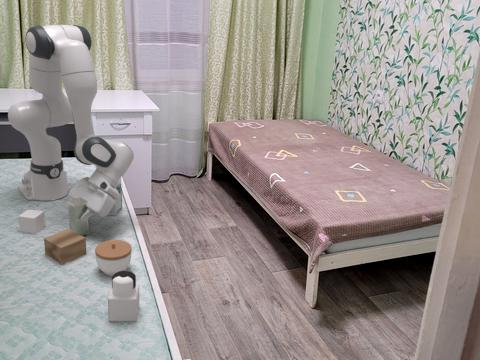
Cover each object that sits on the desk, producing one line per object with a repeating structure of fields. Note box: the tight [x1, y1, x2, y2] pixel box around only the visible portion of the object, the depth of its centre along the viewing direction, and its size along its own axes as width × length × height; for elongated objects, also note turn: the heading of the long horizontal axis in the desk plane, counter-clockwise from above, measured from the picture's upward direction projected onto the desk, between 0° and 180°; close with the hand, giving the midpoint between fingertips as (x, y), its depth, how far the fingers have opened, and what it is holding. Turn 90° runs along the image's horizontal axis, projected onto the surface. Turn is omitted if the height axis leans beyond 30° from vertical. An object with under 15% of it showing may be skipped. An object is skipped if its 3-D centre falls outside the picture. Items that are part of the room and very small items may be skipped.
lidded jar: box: [94, 239, 133, 277], centre depth 149 cm, size 11×11×9 cm
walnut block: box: [43, 228, 87, 265], centre depth 156 cm, size 9×9×6 cm
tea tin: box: [67, 197, 89, 237], centre depth 168 cm, size 5×5×12 cm
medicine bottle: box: [107, 270, 140, 322], centre depth 129 cm, size 7×7×12 cm
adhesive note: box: [17, 208, 46, 235], centre depth 171 cm, size 6×6×6 cm
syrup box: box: [106, 177, 123, 216], centre depth 186 cm, size 6×6×14 cm
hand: (76, 217), depth 167 cm, fingers closed on tea tin, 4 cm apart
